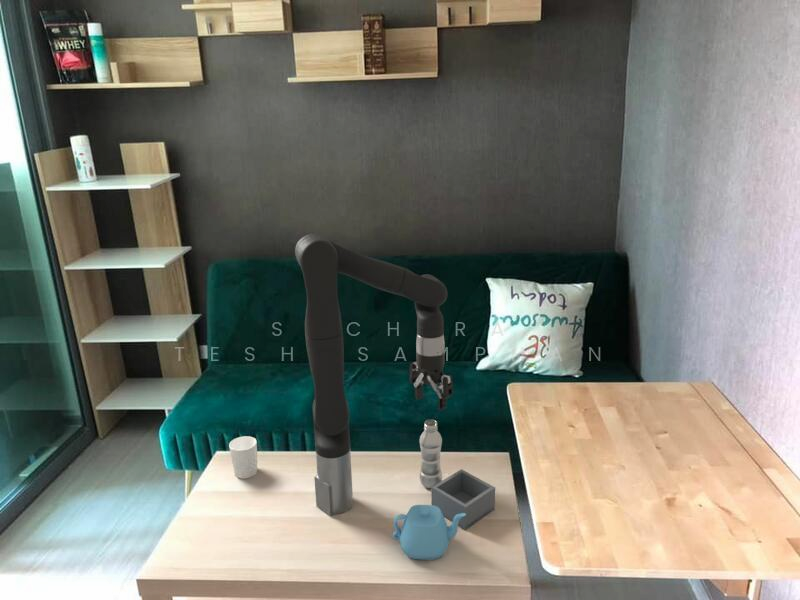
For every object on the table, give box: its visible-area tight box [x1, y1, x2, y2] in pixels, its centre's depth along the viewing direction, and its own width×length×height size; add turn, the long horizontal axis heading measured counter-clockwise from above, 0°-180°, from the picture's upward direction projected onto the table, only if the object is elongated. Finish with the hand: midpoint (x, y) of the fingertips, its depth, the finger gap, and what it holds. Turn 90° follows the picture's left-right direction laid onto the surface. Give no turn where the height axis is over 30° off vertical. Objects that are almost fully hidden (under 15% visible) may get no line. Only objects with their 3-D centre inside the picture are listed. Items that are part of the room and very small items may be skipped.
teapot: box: [392, 504, 466, 561], centre depth 156 cm, size 13×11×18 cm
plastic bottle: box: [419, 419, 443, 489], centre depth 178 cm, size 6×7×20 cm
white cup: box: [228, 435, 258, 480], centre depth 187 cm, size 8×8×10 cm
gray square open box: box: [431, 468, 496, 531], centre depth 170 cm, size 12×12×7 cm
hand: (430, 403), depth 173 cm, fingers open, 8 cm apart
